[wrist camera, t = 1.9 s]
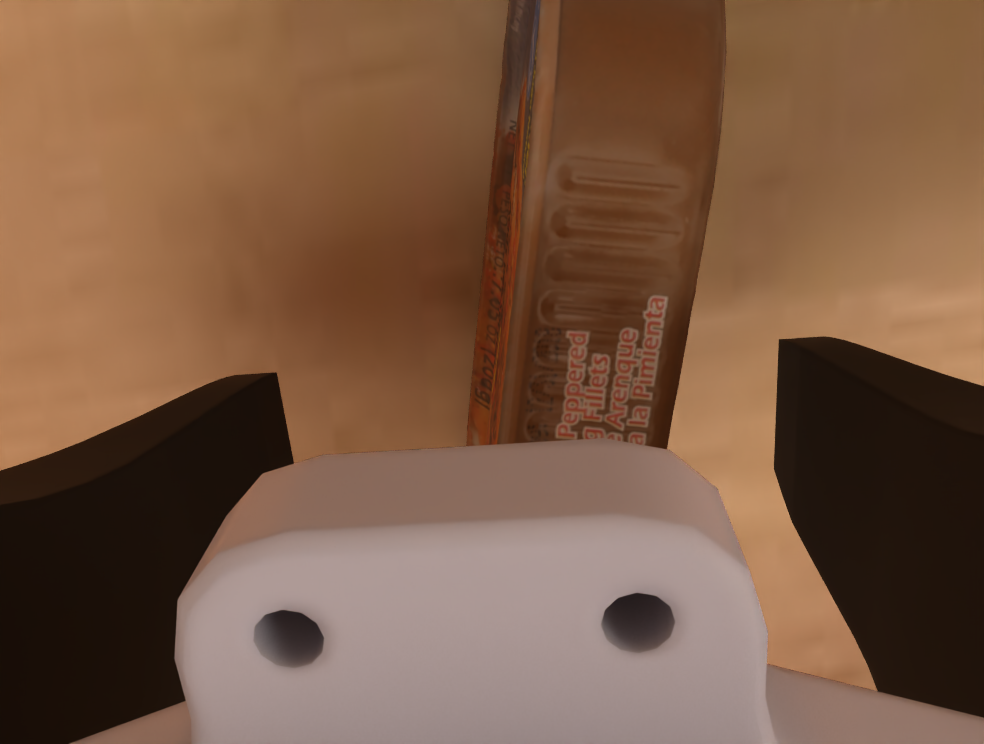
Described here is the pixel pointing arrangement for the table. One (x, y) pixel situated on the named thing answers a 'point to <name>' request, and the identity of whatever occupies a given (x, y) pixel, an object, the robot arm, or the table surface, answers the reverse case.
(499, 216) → the tin
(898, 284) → the table surface
